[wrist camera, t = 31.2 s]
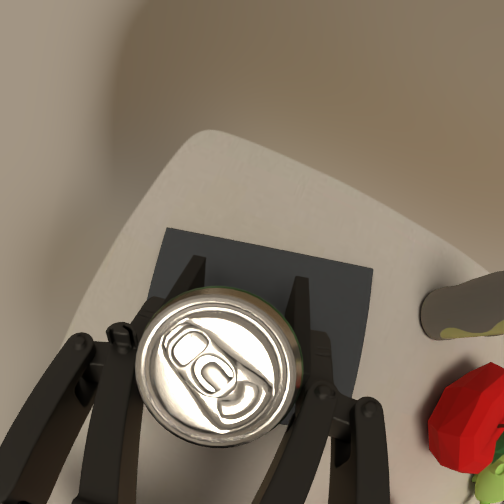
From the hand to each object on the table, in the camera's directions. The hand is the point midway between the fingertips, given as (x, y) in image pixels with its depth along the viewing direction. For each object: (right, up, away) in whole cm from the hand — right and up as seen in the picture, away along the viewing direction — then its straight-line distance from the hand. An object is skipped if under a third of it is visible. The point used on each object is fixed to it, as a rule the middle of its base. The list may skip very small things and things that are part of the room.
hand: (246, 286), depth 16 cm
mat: (0, -4, +5) cm, 7 cm away
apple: (+21, -14, +3) cm, 25 cm away
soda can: (-1, -4, +2) cm, 5 cm away
